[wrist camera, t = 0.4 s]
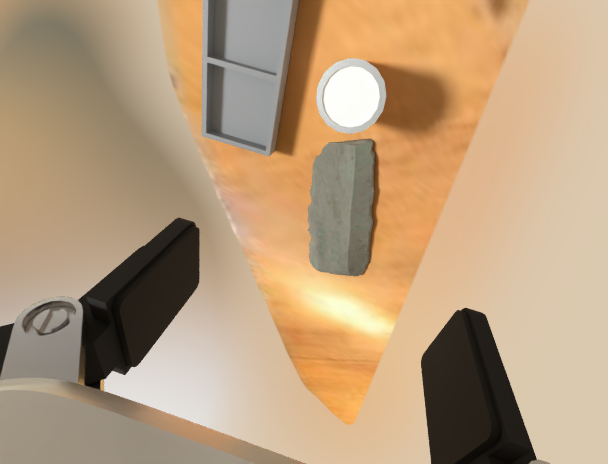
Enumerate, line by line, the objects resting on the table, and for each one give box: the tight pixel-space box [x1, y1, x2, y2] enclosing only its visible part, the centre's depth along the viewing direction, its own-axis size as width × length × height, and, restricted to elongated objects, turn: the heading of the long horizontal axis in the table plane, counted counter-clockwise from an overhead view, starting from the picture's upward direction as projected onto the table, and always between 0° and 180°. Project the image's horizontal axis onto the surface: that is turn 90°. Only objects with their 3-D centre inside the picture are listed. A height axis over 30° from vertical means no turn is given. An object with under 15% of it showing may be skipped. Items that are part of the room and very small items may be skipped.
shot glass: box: [316, 58, 387, 134], centre depth 32 cm, size 7×7×7 cm
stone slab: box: [308, 139, 375, 276], centre depth 44 cm, size 22×3×10 cm
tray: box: [202, 0, 299, 156], centre depth 35 cm, size 10×19×2 cm, turn 168°
